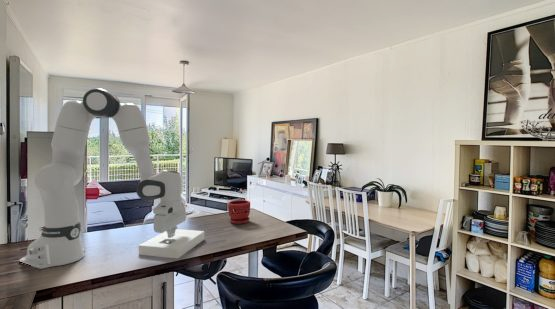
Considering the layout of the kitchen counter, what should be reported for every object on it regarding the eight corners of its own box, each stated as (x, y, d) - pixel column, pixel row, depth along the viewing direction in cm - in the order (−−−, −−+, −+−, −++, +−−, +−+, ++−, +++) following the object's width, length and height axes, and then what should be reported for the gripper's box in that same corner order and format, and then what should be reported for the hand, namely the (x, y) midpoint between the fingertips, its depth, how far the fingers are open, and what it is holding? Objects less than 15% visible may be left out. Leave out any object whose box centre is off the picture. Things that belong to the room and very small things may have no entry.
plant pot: (250, 218, 181) (250, 199, 181) (249, 225, 168) (249, 204, 167) (229, 218, 180) (229, 199, 180) (226, 225, 167) (226, 204, 167)
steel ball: (164, 239, 128) (166, 244, 131) (160, 247, 125) (163, 252, 128) (173, 239, 128) (175, 244, 131) (169, 248, 125) (172, 253, 128)
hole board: (138, 254, 124) (138, 245, 123) (170, 236, 147) (170, 228, 147) (177, 258, 120) (177, 249, 120) (204, 239, 143) (204, 231, 143)
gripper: (177, 200, 141) (177, 229, 142) (150, 210, 121) (150, 243, 122) (189, 201, 140) (189, 230, 141) (164, 211, 120) (164, 245, 121)
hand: (171, 236), depth 131 cm, fingers closed
